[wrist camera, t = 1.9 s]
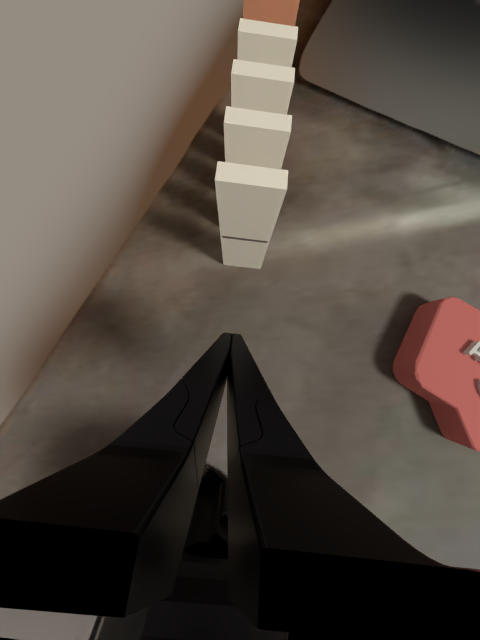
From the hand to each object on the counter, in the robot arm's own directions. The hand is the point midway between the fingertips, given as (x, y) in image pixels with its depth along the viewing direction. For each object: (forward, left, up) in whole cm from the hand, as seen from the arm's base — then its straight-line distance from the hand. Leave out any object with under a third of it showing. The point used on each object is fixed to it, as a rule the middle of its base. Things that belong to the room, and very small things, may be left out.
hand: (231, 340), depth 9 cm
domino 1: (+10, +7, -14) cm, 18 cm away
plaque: (+16, -25, -14) cm, 33 cm away
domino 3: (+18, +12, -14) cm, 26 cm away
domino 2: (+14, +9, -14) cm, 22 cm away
